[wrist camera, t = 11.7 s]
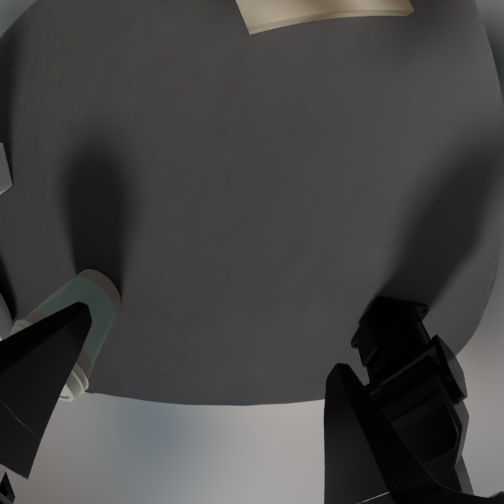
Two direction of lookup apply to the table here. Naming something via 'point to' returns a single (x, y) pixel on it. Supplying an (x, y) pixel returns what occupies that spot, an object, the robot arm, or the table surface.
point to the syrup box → (4, 171)
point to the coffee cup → (103, 314)
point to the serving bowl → (4, 319)
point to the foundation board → (313, 11)
